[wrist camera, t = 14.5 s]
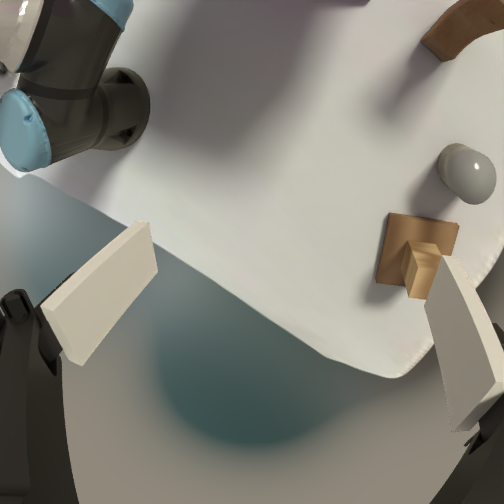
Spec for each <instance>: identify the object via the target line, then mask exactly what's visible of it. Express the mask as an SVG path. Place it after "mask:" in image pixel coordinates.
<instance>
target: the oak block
mask: <svg viewBox="0 0 504 504" xmlns="http://www.w3.org/2000/svg"><path fill="white" fill-rule="evenodd" d="M441 257H442V255H441V253H440V251H439V249H438V247H437V246H436V244H430V243H424V242H417V241H410V240H408V241H407V245H406V249H405V253H404V257H403V261H402V265H401V271H402V274H403V278H404V282H405V285H406V289H407V293H408V297H409V298H417V299H426V300H427V297H428V294H429V292H430V289H431V286H432V284H433V281H434V278H435V275H436V272H437V269H438V266H439V263H440V260H441Z"/></svg>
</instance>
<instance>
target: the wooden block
mask: <svg viewBox="0 0 504 504" xmlns="http://www.w3.org/2000/svg"><path fill="white" fill-rule="evenodd" d="M502 29H504V0H459V1H458V2H456V3H455V4H453V5H452V6H451V7H449V8H448V9H447V11H446V12H445V13H444V14H443V15H442V16H441V17H440V18H439V20H438V21H437V22H436V23H435V24H434V25H433V26H432V27H431V29H430V30H429V31H428V32H427V33H426V34H425V35H424V36H423V38H422V39H421V42H422V43H423V44H424V45H425V46H426V47H428V48H429V49H430V50H431V51H432V52H433V53H434V54H435V55H436V56H437V57H438V58H439V59H440V60H441V61H443V62H445V61H449V60H453V59H455V58H456V56H457V55H458V54H459V53H460V52H461V51H462V50H463V49H464V48H465V47H466V46H467V45H469V44H470V43H471V42H472V41H474V40H475V39H477V38H479V37H481V36H483V35H486V34H489V33H492V32H495V31H498V30H502Z"/></svg>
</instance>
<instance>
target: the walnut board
mask: <svg viewBox="0 0 504 504" xmlns="http://www.w3.org/2000/svg"><path fill="white" fill-rule="evenodd" d="M458 230H459V225H458V224H457V223H452V222H446V221H440V220H434V219H428V218H422V217H416V216H409V215H402V214H396V213H389V217H388V223H387V228H386V233H385V238H384V243H383V248H382V253H381V257H380V262H379V266H378V271H377V275H376V283H382V284H391V285H399V286H406V285H405V282H404V278H403V274H402V271H401V265H402V261H403V257H404V253H405V249H406V245H407V241H408V240H410V241H417V242H424V243H430V244H436V246H437V247H438V249H439V251H440V253H441V255H446V256H451V254H452V251H453V247H454V244H455V241H456V237H457V233H458Z"/></svg>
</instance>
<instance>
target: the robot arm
mask: <svg viewBox="0 0 504 504" xmlns="http://www.w3.org/2000/svg"><path fill="white" fill-rule="evenodd" d="M133 6H134V4H133V0H0V61H1V62H3V63H4V65H5V66H6V67H7V69H8V70H9V71H10V73H20V77H19V81H18V84H17V88H16V89H15V88H13V89H10V90H9V91H8V92H6V93H4V95H3V96H2V98H1V99H0V147H1V150H2V152H3V154H4V156H5V158H6V159H7V161H8V162H9V163H10V164H11V165H12V166H13V167H14V168H15V169H17V170H18V171H21V172H30V171H33V170H36V169H39V168H45V167H48V166H49V165H51V164H53V163H55V162H58V161H60V160H63V159H65V158H67V157H70V156H72V155H75V154H77V153H80V152H82V151H85V150H88V149H99V150H108V151H112V150H118V149H121V148H124V147H126V146H129V145H131V144H132V143H134V142H135V141H136V140H137V139H138V138H139V137H140V135H141V134H142V133H143V131H144V129H145V127H146V125H147V122H148V118H149V113H150V99H149V93H148V90H147V87H146V85H145V83H144V82H143V80H142V79H141V77H140V76H139V75H138V74H136V73H135V72H134V71H132V70H129V69H126V68H109V69H105V68H106V65H107V63H108V61H109V59H110V56H111V54H112V52H113V50H114V48H115V45H116V43H117V41H118V39H119V37H120V35H121V33H122V32H124V30H125V25H126V22H127V20H128V18H129V16H130V14H131V12H132V10H133ZM157 272H158V269H157V264H156V259H155V254H154V248H153V243H152V237H151V231H150V226H149V223H148V222H137V221H136V222H135V223H133V224H132V225H131V226H130V227H128V228H127V229H126V230H125V231H123V232H122V233H121V234H120V235H119V236H117V237H116V238H115V239H114V240H112V241H111V242H110V243H109V244H108V245H107V246H105V247H104V248H103V249H102V250H101V251H99V252H98V253H97V254H96V255H95V256H94V257H92V258H91V259H90V260H89V261H88V262H87V263H86V264H85V265H83V266H82V267H81V268H80V269H79V270H77V271H76V272H74V273H72V274H70V275H69V276H68V277H67V278H66V279H65V280H64V281H62V283H60V284H59V285H58V286H57V287H56V289H54V290H53V291H52V292H51V293H50V294H49V295H48V296H46V298H45V299H43V300H42V301H41V303H39V304H38V305H37V306H36V307H35V308H34V307H33V305H32V303H31V301H30V299H29V297H28V295H27V293H26V291H25V290H23V289H15V290H13V291H10V292H9V293H8V294H6V295H5V296H4V297H3V298H2V299H1V301H0V307H1V309H2V310H3V312H4V314H5V316H3V314H2V312H1V310H0V504H79V502H78V497H77V493H76V489H75V485H74V479H73V474H72V469H71V463H70V458H69V452H68V445H67V437H66V428H65V418H64V407H63V391H62V362H61V357H60V356H59V354H60V352H61V351H62V350H63V351H64V353H65V354H66V356H67V358H68V359H69V360H70V361H72V362H74V363H76V364H78V365H81V366H83V364H84V363H85V362H86V360H87V359H88V358H89V356H90V355H91V354H92V352H93V351H94V350H95V349H96V347H97V346H98V345H99V343H100V342H101V341H102V340H103V338H104V337H105V336H106V335H107V333H108V332H109V331H110V329H111V328H112V327H113V326H114V324H115V323H116V322H117V321H118V319H119V318H120V317H121V316H122V314H123V313H124V312H125V311H126V310H127V308H128V307H129V306H130V305H131V303H132V302H133V301H134V300H135V299H136V297H137V296H138V295H139V294H140V293H141V291H142V290H143V289H144V288H145V287H146V285H147V284H148V283H149V282H150V281H151V279H152V278H153V277H154V276H155V275H156V273H157ZM424 308H425V311H426V314H427V318H428V321H429V325H430V328H431V332H432V336H433V340H434V344H435V347H436V351H437V356H438V360H439V364H440V369H441V373H442V378H443V383H444V388H445V394H446V399H447V405H448V410H449V418H450V424H451V432H460V431H469V430H470V429H471V428H472V427H473V426H474V425H475V424H476V423H477V422H478V421H479V426H480V430H479V431H478V432H477V433H476V434H475V435H474V436H473V437H471V438H470V439H469V440H468V441H467V442H466V443H465V445H464V446H467V445H468V444H469V443H470V445H469V446H468V448H467V450H466V452H465V453H464V455H463V456H462V458H461V460H460V461H459V463H458V465H457V466H456V467H455V469H454V471H453V472H452V474H451V475H450V476H449V478H448V479H447V481H446V482H445V484H444V485H443V486H442V488H441V489H440V491H439V492H438V493H437V495H436V496H435V497H434V498H433V500H432V501H431V502H430V504H504V332H503V330H502V329H501V328H500V327H499V326H498V325H497V324H496V323H491V321H490V319H489V317H488V315H487V313H486V310H485V308H484V306H483V304H482V302H481V301H480V298H479V296H478V294H477V293H476V291H475V289H474V287H473V285H472V283H471V281H470V279H469V278H468V276H467V274H466V272H465V270H464V269H463V267H462V265H461V264H460V262H459V260H458V258H457V257H453V256H446V255H442V257H441V260H440V263H439V266H438V269H437V272H436V275H435V278H434V281H433V284H432V286H431V289H430V292H429V294H428V297H427V300H426V302H425V305H424Z"/></svg>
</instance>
